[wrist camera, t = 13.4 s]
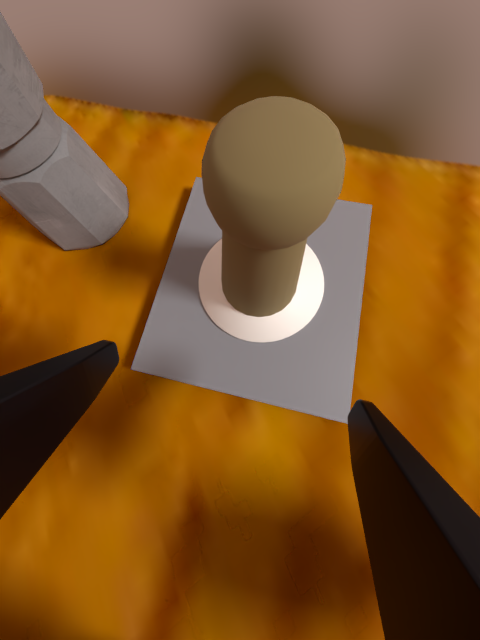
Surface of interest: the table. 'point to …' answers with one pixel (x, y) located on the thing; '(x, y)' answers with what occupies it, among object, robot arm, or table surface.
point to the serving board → (262, 318)
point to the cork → (270, 195)
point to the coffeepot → (51, 162)
